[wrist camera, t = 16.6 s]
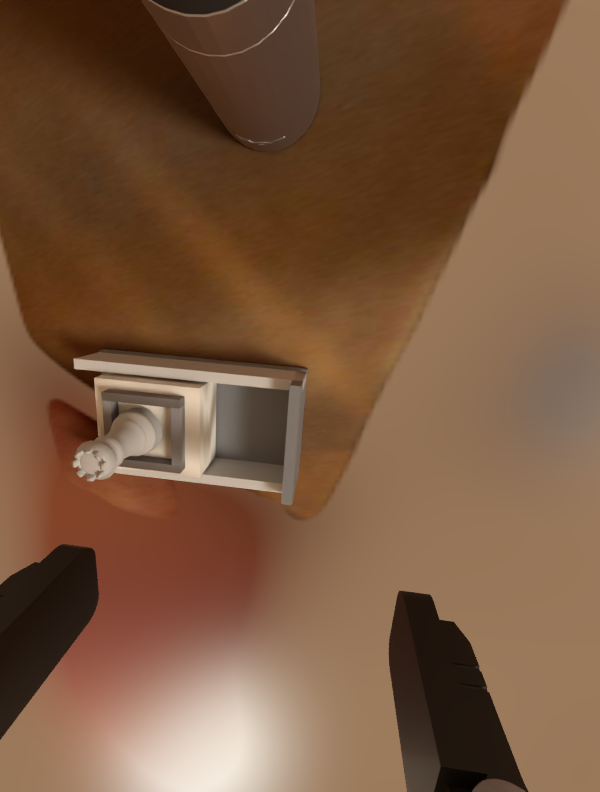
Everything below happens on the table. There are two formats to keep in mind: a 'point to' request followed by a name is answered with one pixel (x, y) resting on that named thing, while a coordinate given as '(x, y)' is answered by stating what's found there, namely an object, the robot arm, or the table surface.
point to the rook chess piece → (118, 444)
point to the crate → (163, 420)
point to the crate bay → (232, 415)
